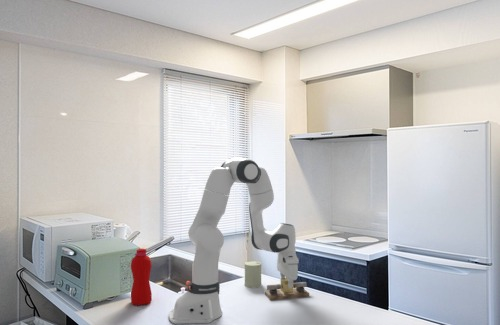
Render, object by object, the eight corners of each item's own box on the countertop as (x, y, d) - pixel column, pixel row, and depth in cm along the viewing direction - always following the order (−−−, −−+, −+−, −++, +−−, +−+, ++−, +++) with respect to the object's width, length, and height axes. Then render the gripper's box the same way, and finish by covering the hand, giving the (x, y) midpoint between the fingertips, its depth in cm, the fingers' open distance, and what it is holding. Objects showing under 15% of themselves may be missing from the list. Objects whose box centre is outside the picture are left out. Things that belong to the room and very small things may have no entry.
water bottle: (127, 300, 182) (126, 247, 182) (150, 298, 186) (150, 246, 186) (127, 307, 173) (127, 252, 174) (152, 304, 177) (152, 250, 177)
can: (261, 287, 201) (261, 264, 201) (244, 287, 201) (244, 264, 201) (261, 282, 210) (261, 260, 210) (244, 282, 210) (244, 260, 210)
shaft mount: (270, 300, 182) (270, 288, 182) (264, 294, 191) (264, 282, 191) (309, 296, 187) (309, 284, 187) (302, 290, 196) (302, 279, 196)
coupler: (283, 293, 186) (283, 281, 186) (280, 290, 190) (280, 278, 190) (293, 293, 187) (293, 280, 187) (290, 290, 192) (290, 278, 192)
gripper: (273, 251, 198) (273, 278, 198) (287, 261, 178) (287, 291, 178) (285, 251, 200) (285, 277, 200) (300, 260, 180) (300, 290, 180)
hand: (286, 284), depth 189 cm, fingers open, 8 cm apart
